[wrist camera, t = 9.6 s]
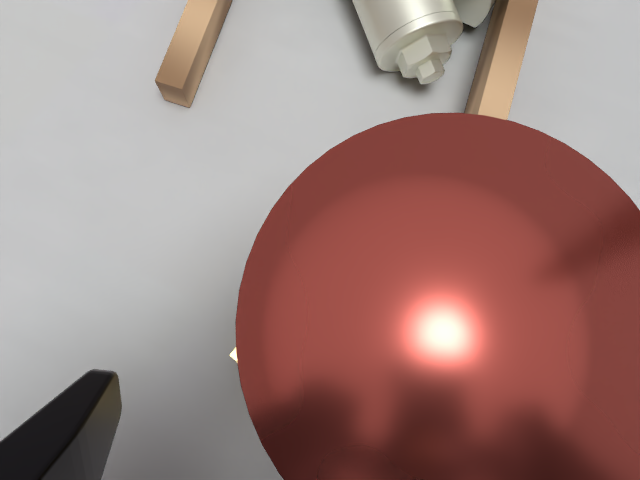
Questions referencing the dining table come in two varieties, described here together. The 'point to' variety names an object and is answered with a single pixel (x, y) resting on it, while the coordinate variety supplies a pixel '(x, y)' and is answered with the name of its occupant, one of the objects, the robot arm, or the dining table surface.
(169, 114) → the dining table surface
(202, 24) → the u-shaped wooden frame
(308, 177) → the red-topped star-based cylinder
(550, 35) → the dining table surface
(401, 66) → the pipe fitting
